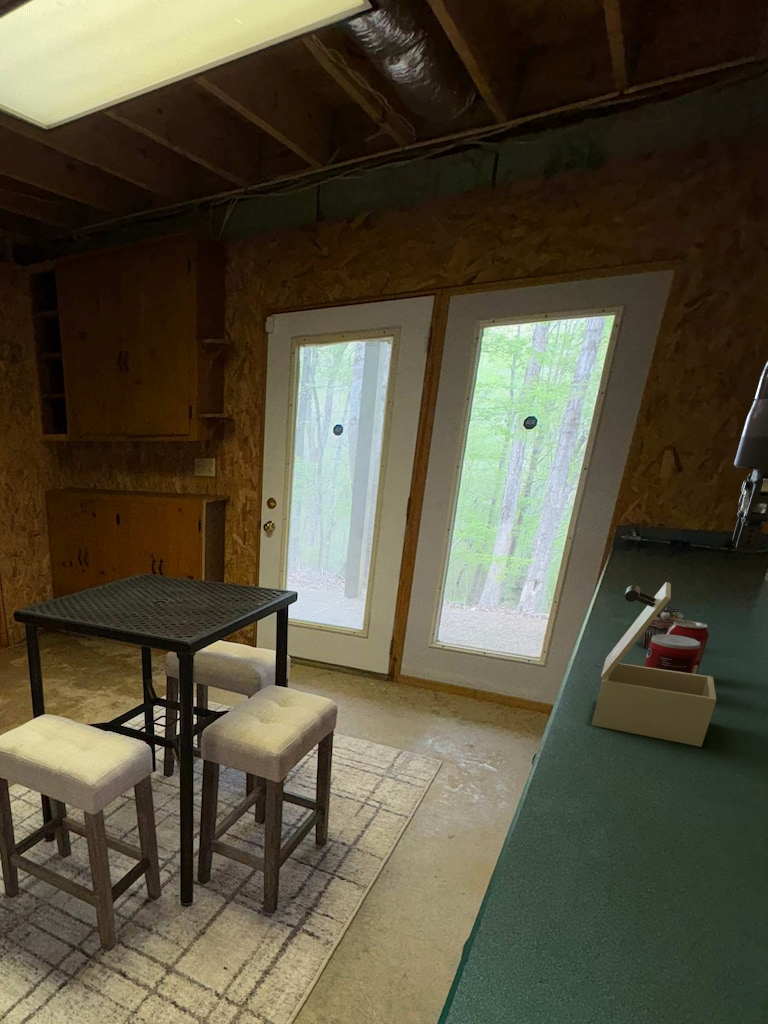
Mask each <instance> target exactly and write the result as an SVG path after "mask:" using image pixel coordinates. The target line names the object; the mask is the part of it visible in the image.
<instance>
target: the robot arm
mask: <svg viewBox="0 0 768 1024" xmlns="http://www.w3.org/2000/svg"><path fill="white" fill-rule="evenodd" d="M739 440H740V441H739V444H738V449H737V452H736V455H735V457H734V458H735V459H734V462H733V466H734V467H735V468H737V469H753V471H752V472H750V473H749V474H748V475H747V476H746V479H747V480H743V483H742V485H741V490H740V493H741V494H740V497H739V500H738V504H737V506H738V507H737V514H736V515H737V521H736V525H735V528H734V533H733V535H732V542H733V543H734V544H736V545H735V549H736V550H737V551H739V552H755V550H756V549H757V546H758V543H759V540H760V536H761V533H762V530H763V526H765V525H766V523H767V522H768V360H767V361H766V363H765V364H764V367H763V370H762V372H761V375H760V378H759V382H758V386H757V389H756V393H755V396H754V400H753V402H752V405H751V407H750V410H749V411H748V414H747V417H746V419H745V422H744V427H743V431H742V434H741V437H740V439H739Z"/></svg>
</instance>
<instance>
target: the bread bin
mask: <svg viewBox="0 0 768 1024" xmlns="http://www.w3.org/2000/svg"><path fill="white" fill-rule="evenodd" d="M716 703H717V694H716V688H715V681H714V676H712V675H703V674H698V673H697V674H691V673H684V672H677V671H670V670H663V669H656V668H650V667H644V665H643V666H642V665H634V664H628V663H621V662H619V663H618V665H617V666H616V667H615V668H614V669H613V671H612V672H611V673H610V674H609V676H608V677H607V678H606V679H605V680H604V679H602V680H601V684H600V688H599V693H598V696H597V701H596V704H595V709H594V713H593V716H592V722H591V726H593V727H599V728H603V729H609V730H614V731H619V732H625V733H629V734H635V735H640V736H643V737H644V736H645V737H650V738H655V739H659V740H666V741H669V742H676V743H680V744H686V745H691V746H696V747H699V748H702V747H703V744H704V740H705V738H706V734H707V731H708V728H709V725H710V721H711V718H712V715H713V712H714V709H715V706H716Z"/></svg>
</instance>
